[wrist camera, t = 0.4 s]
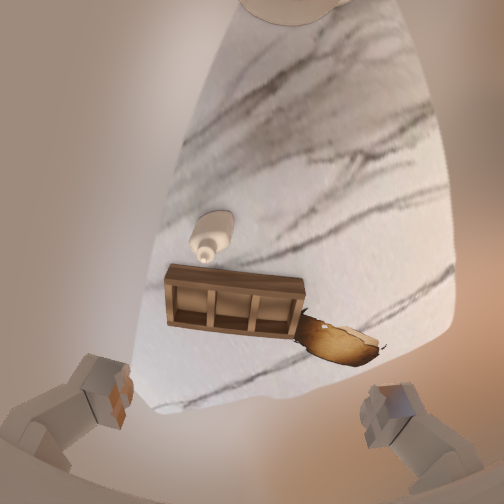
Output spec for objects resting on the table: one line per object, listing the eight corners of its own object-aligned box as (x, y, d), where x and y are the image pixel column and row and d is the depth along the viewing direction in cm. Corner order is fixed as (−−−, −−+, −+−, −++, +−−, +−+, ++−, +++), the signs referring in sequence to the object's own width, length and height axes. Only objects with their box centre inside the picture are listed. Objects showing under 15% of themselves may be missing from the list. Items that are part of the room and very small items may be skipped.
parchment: (388, 344, 60) (389, 347, 60) (360, 370, 64) (360, 373, 64) (302, 302, 55) (302, 305, 54) (273, 335, 59) (273, 338, 58)
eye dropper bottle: (230, 237, 48) (222, 280, 38) (196, 229, 48) (179, 269, 37) (237, 212, 46) (229, 250, 36) (201, 204, 46) (183, 239, 35)
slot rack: (171, 263, 51) (164, 278, 47) (302, 278, 52) (305, 294, 48) (172, 309, 56) (167, 325, 52) (291, 323, 57) (293, 339, 53)
